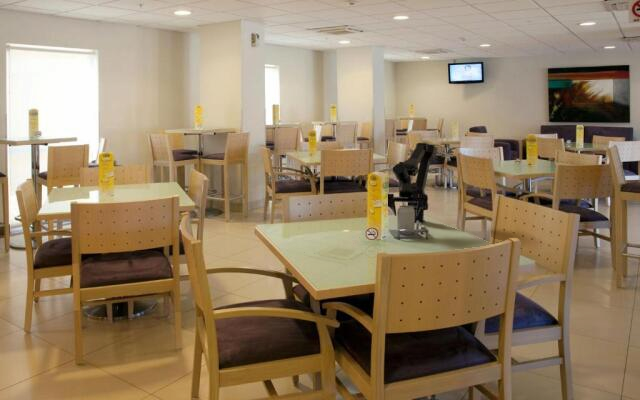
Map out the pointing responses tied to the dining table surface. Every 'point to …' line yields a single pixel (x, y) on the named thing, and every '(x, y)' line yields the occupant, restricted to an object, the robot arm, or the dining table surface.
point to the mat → (413, 235)
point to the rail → (415, 230)
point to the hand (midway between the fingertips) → (406, 215)
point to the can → (405, 218)
